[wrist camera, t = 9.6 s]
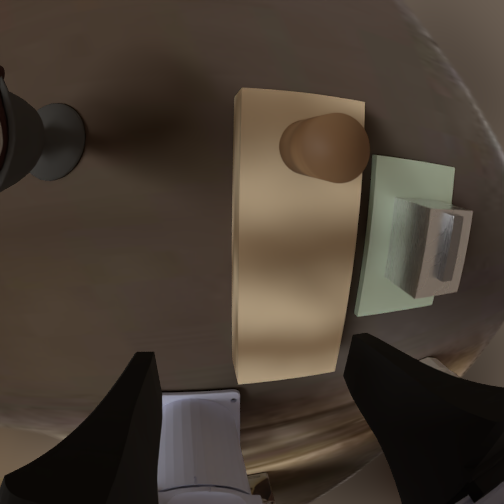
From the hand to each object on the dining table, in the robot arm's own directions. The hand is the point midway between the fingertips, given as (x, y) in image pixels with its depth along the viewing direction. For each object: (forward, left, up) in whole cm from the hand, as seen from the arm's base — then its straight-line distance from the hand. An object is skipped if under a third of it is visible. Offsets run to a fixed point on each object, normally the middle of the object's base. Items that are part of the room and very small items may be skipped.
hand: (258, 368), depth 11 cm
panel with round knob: (+2, -4, -10) cm, 11 cm away
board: (+2, -14, -10) cm, 17 cm away
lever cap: (+2, -14, -10) cm, 17 cm away
